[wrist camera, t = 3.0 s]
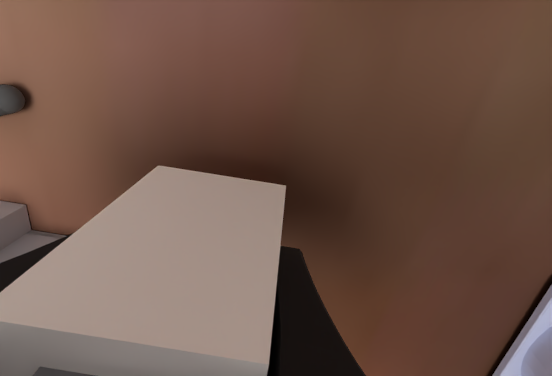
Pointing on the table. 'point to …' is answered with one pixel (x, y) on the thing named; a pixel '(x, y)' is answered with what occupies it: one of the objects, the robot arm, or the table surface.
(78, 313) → the block
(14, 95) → the dark gray rod
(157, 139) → the table surface
